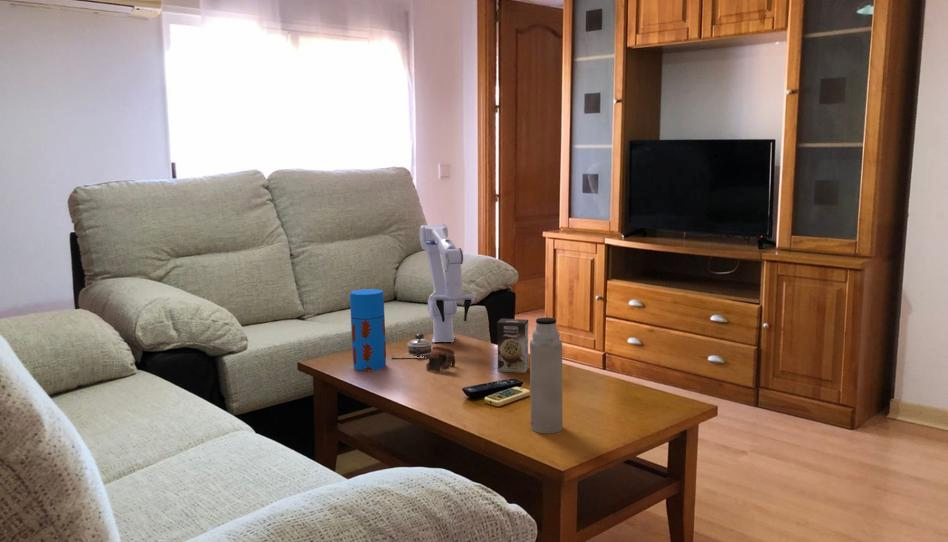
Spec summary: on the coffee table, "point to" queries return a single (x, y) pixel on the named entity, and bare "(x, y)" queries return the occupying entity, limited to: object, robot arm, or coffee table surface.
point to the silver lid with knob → (419, 340)
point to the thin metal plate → (419, 350)
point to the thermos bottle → (546, 377)
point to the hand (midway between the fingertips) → (454, 321)
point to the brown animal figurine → (440, 359)
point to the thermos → (368, 329)
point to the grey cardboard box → (513, 345)
